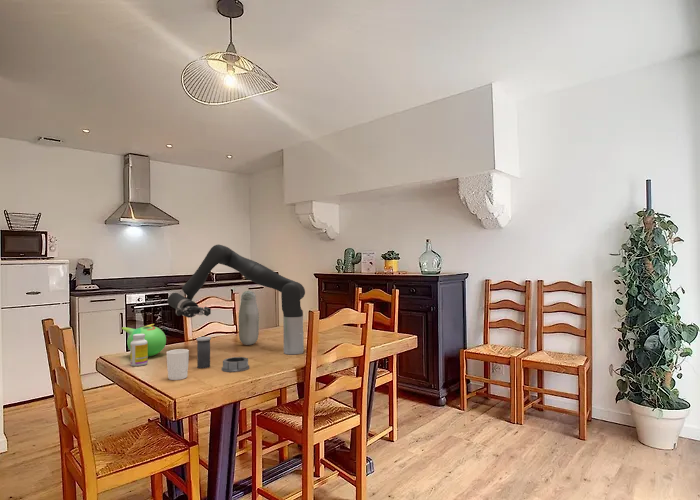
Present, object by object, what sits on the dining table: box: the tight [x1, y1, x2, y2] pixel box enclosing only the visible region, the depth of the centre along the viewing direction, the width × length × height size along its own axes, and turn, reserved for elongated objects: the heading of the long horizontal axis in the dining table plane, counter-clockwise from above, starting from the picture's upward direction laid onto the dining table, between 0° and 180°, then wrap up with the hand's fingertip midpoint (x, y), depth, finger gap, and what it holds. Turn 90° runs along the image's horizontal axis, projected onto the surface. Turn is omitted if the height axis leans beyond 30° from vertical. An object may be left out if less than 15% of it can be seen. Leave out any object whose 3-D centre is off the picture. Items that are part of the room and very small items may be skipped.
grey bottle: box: [238, 290, 260, 346], centre depth 226 cm, size 10×10×28 cm
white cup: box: [166, 348, 190, 381], centre depth 164 cm, size 8×8×10 cm
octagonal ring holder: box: [221, 356, 250, 373], centre depth 177 cm, size 11×11×4 cm
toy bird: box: [121, 323, 167, 357], centre depth 201 cm, size 18×17×15 cm
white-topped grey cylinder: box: [196, 336, 212, 369], centre depth 180 cm, size 6×6×12 cm
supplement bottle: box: [129, 334, 149, 367], centre depth 185 cm, size 7×7×13 cm
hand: (197, 314), depth 188 cm, fingers open, 8 cm apart
